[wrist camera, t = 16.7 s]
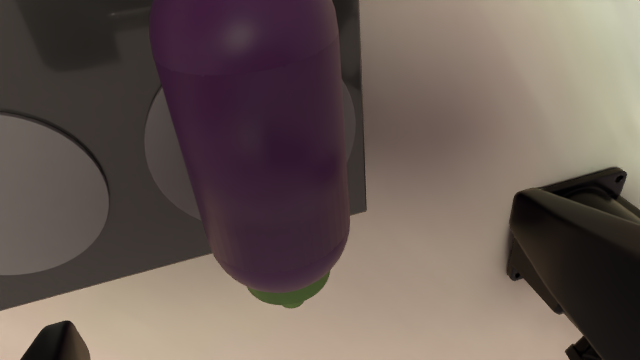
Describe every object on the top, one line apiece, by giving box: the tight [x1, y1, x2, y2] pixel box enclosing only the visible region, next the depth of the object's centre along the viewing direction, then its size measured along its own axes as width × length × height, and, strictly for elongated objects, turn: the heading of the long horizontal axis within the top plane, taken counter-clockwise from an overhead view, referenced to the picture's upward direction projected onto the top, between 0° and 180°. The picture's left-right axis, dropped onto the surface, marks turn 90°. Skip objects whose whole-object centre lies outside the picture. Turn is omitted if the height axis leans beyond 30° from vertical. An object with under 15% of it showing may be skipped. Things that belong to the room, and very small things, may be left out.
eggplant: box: [149, 0, 350, 308], centre depth 14 cm, size 12×5×5 cm, turn 5°
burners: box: [0, 80, 356, 275], centre depth 13 cm, size 15×18×1 cm
